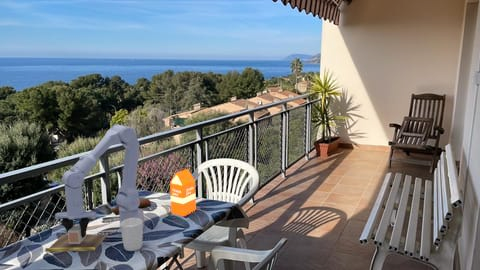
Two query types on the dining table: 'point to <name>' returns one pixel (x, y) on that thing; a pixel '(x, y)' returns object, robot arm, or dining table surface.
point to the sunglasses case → (142, 203)
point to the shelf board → (86, 245)
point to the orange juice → (183, 193)
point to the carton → (75, 235)
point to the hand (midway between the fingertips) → (77, 236)
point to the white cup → (132, 233)
